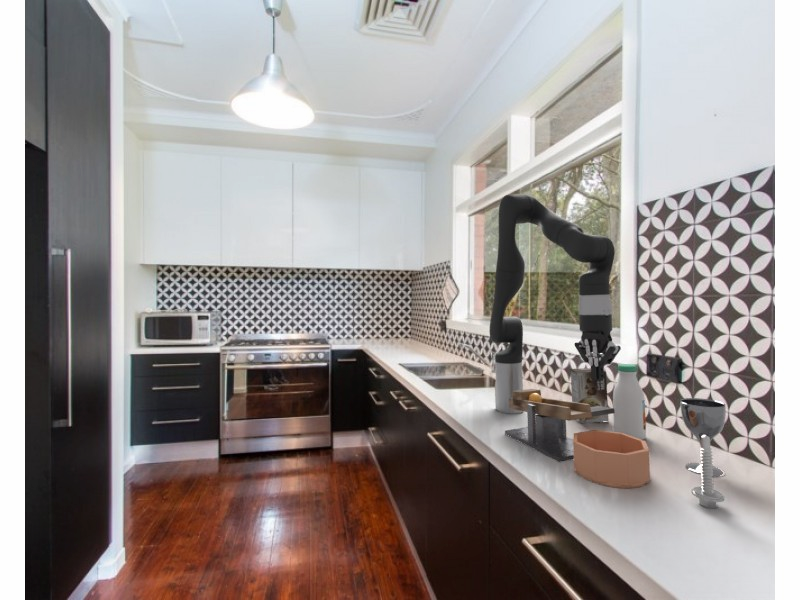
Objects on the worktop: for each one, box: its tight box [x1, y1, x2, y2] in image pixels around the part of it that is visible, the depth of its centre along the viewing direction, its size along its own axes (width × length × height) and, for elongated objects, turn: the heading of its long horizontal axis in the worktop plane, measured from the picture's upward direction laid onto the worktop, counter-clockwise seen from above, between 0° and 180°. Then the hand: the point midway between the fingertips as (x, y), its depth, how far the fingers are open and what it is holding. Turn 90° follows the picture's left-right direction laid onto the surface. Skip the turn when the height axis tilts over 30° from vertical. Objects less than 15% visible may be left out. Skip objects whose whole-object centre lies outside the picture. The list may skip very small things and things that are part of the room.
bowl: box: [572, 429, 651, 489], centre depth 86 cm, size 14×14×7 cm
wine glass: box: [679, 397, 727, 478], centre depth 86 cm, size 8×8×15 cm
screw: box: [690, 435, 726, 509], centre depth 72 cm, size 13×5×5 cm
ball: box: [529, 393, 543, 403], centre depth 109 cm, size 4×4×4 cm
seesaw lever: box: [509, 388, 615, 421], centre depth 106 cm, size 24×15×5 cm, turn 19°
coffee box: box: [570, 367, 610, 424], centre depth 124 cm, size 9×6×16 cm
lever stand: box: [504, 399, 574, 463], centre depth 105 cm, size 22×12×11 cm, turn 20°
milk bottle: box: [612, 363, 647, 441], centre depth 108 cm, size 8×8×20 cm
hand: (597, 380), depth 99 cm, fingers closed
